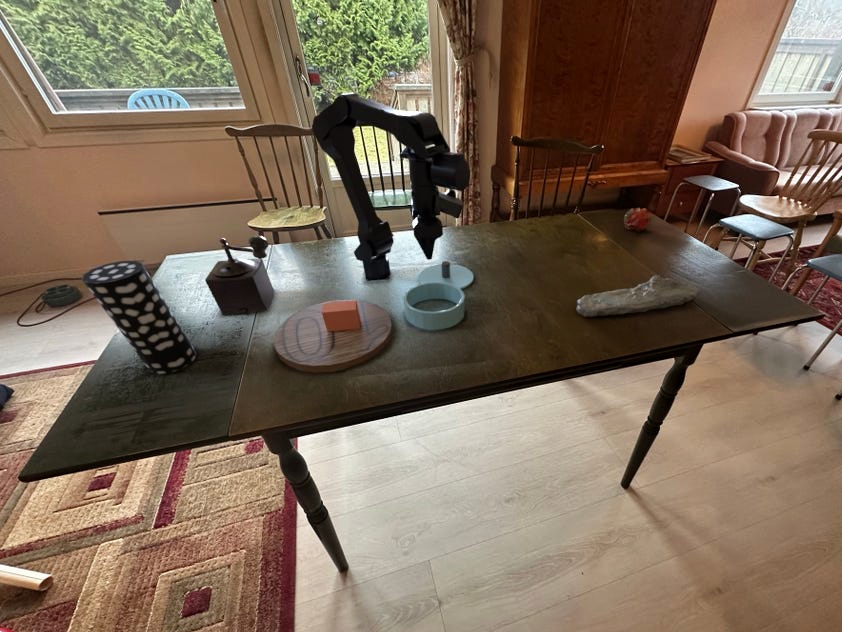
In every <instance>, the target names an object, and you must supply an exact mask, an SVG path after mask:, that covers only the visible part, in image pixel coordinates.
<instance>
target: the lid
mask: <svg viewBox="0 0 842 632" xmlns="http://www.w3.org/2000/svg"><path fill="white" fill-rule="evenodd" d="M473 281H474V273H473V272H472V271H471V270H470V269H469V268H467V267H466V266H463V265H459V264H453V263H451V262H450V261H448V260H443V261H441V263H439V264H435V265H430V266H427V267H426V268H423V269H422V270H421V271H420V273H418V282H419V284H422V283H427V282H445V283H449V284H452V285H455V286H457V287H459V288H460V289H461V290H463V289H465V288H467V287H469V286H470V285H471V284H472V283H473Z"/></svg>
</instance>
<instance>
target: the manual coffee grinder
mask: <svg viewBox="0 0 842 632" xmlns="http://www.w3.org/2000/svg"><path fill="white" fill-rule="evenodd" d="M219 242H220V243H221V247H220V248H222V249H223V250H224V252H225V255H226V257H227V260H218V261H217V262H216V263H215V265H214V266H213V267H212V269H211V270H210V272H209V273H208V274H207V276H206V277H205V279H204V281H205V283H206V286H207V287H208V289H209V291H210V293H211V295H212V297H213V299H214V301H215V303H216V305H217V307H218V308H219V310H220V312H221V315H222V316H228V315H231V316H232V315H243V314H249V313H257V312H263V311H268V309H269V308H270V306H271V304H272V301H273V299H274V294H275V293H274V292H275V289H274V286H273V284H272V281H271V280H270V276H269V274H268V270H267V268H266V265H265V263H264V260H263V259H265V258H267V257H268V254H267V253H266V250H267V249H268V247H269V242H268V239H267V238H266V237H264V236H262V235H253V236H251V237H250V238H249V239H248V242H247V243H248V245H249V247H243V246H234V245H230V244H229V243H227V239H226V238H224V237H220V239H219ZM230 250H231V251H236V252H247V253H252V256H253V257H254V258H245V259H243V258H234V257H233V256H232V253H231V251H230Z"/></svg>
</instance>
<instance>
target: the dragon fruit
mask: <svg viewBox="0 0 842 632" xmlns="http://www.w3.org/2000/svg"><path fill="white" fill-rule="evenodd" d="M651 217H652V213H651V212H650V211H648V208H646V207H644V208H642V209H641V208H640V207H637V208H631V209H629V210H628V211H627V212H626V213H625V214H624V216H623V221H622V224H623V225H624V227H625V228H626V229H628V230H629V231H633V230H635V229H638V230H635V231H636V232H640V231H644V230H646V228H647V227H648V226H649V225H650V224H651V221H652V218H651ZM630 227H631V228H634V229H631V228H630ZM640 229H641V230H640ZM639 230H640V231H639Z"/></svg>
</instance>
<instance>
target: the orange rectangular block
mask: <svg viewBox="0 0 842 632" xmlns="http://www.w3.org/2000/svg"><path fill="white" fill-rule="evenodd" d="M353 300H354V301H342V302H330V303H324V304H323V309H322V316H323V319H324V322H325V326H326V329H327V332H329V331H339V330H350V329H360V319H361V318H360V314H359V309H358V305H357V301H356V300H357V299H353Z"/></svg>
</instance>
